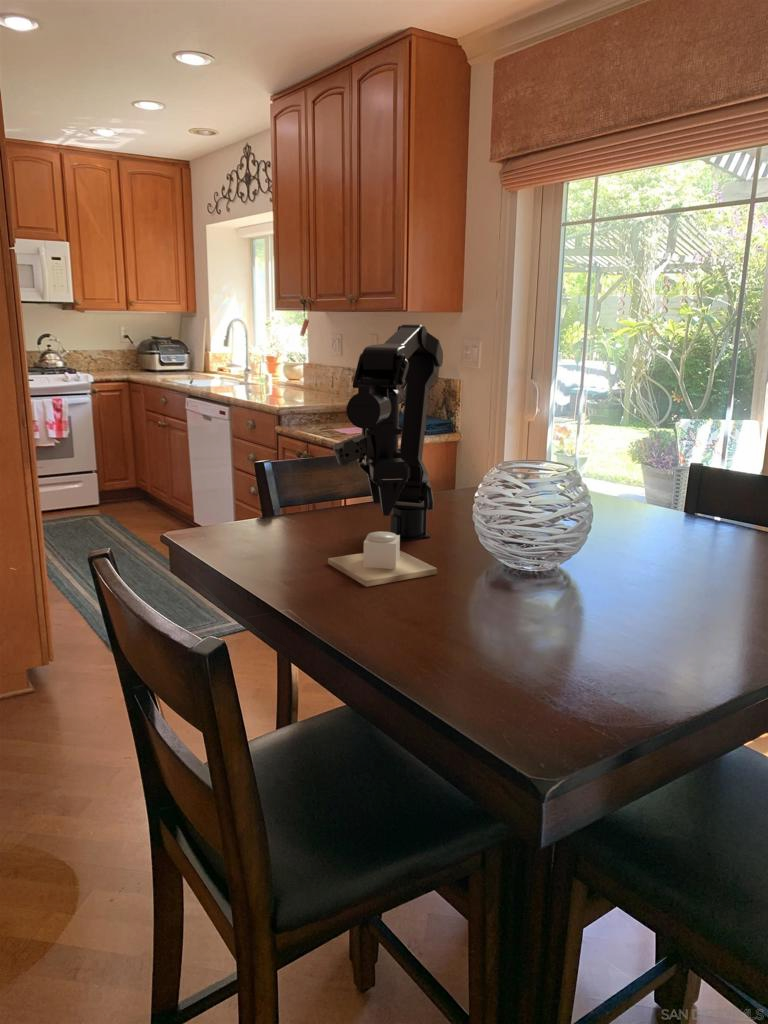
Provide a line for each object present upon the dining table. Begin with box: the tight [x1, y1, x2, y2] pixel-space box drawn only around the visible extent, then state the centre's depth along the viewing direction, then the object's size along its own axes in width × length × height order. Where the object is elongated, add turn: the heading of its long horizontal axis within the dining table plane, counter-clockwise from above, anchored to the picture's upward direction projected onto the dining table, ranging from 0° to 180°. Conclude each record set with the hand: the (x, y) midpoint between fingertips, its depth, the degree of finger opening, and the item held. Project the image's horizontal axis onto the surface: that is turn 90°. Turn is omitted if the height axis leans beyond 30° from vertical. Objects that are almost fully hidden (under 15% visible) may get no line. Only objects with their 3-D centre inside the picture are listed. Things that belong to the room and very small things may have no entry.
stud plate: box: [327, 550, 438, 587], centre depth 132 cm, size 14×14×4 cm
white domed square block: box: [363, 531, 401, 569], centre depth 132 cm, size 6×6×5 cm
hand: (381, 509), depth 134 cm, fingers open, 9 cm apart
